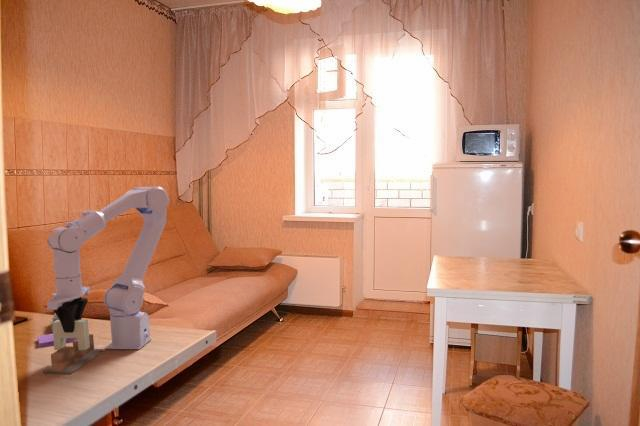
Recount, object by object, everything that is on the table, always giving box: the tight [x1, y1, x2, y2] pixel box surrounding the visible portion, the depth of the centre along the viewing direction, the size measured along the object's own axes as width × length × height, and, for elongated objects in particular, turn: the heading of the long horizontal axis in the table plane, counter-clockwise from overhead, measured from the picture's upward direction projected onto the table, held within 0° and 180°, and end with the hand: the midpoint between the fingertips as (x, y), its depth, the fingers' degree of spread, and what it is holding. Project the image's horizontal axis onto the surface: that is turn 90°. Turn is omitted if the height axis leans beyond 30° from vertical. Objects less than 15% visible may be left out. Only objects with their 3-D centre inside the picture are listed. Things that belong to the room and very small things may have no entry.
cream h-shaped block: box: [52, 319, 90, 351], centre depth 121 cm, size 8×2×7 cm, turn 85°
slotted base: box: [42, 333, 104, 375], centre depth 121 cm, size 14×7×5 cm, turn 175°
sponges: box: [37, 333, 77, 348], centre depth 138 cm, size 7×13×2 cm, turn 119°
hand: (72, 330), depth 121 cm, fingers closed on cream h-shaped block, 2 cm apart
